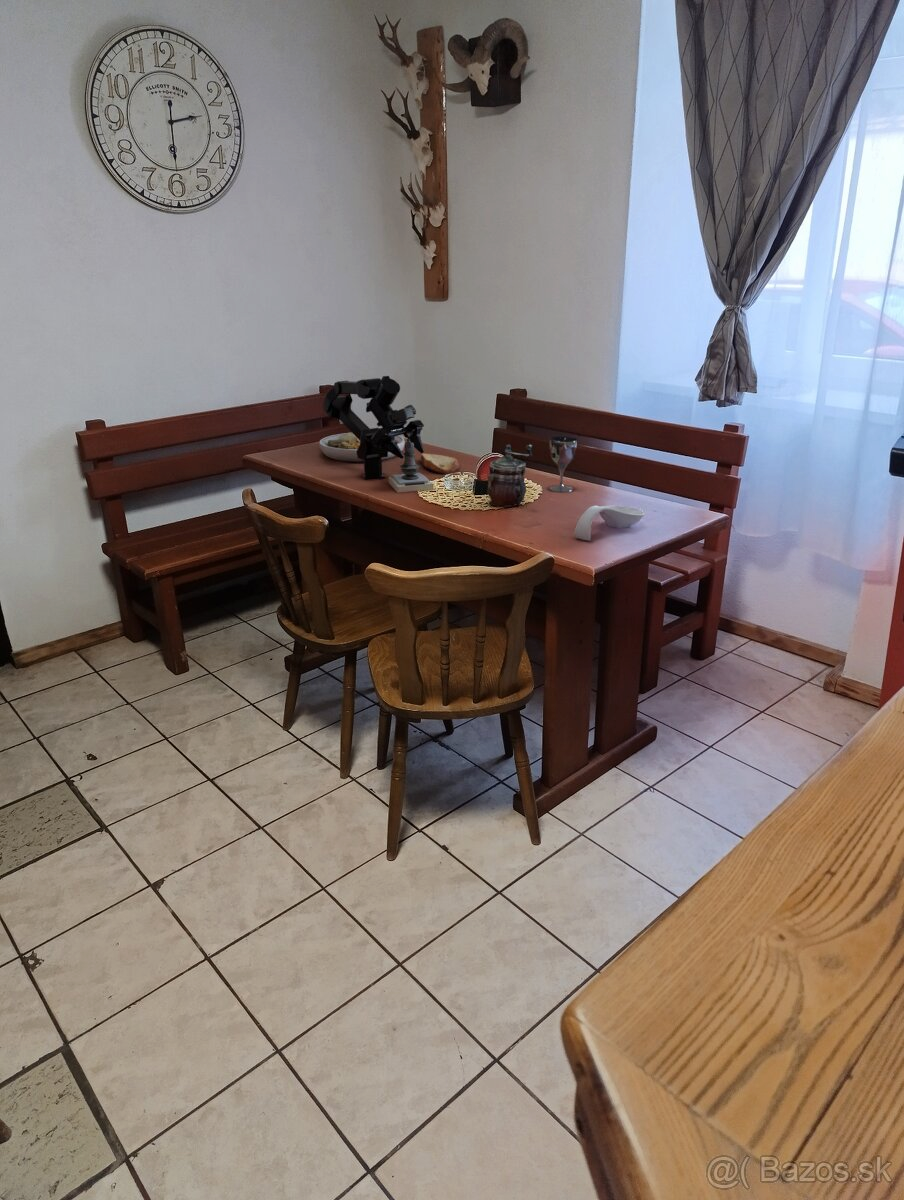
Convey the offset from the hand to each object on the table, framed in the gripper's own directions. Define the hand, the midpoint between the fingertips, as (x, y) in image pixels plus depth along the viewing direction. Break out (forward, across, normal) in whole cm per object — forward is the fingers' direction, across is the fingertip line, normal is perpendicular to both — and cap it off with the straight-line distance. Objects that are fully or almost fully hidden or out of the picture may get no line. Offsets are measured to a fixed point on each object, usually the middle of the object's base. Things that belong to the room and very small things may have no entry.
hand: (413, 455), depth 244 cm
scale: (+6, 0, +8) cm, 10 cm away
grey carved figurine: (+4, 0, +6) cm, 8 cm away
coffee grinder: (+32, +2, -17) cm, 36 cm away
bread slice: (-1, +24, +15) cm, 29 cm away
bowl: (-24, +23, +38) cm, 50 cm away
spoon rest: (+55, -2, -40) cm, 68 cm away
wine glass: (+33, +25, -19) cm, 46 cm away
